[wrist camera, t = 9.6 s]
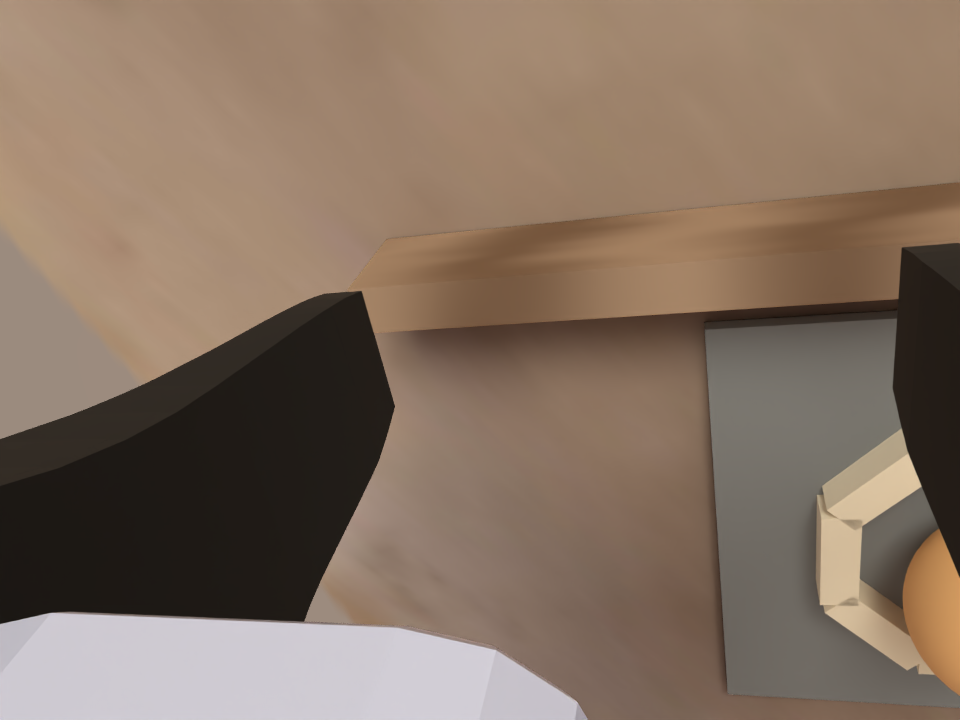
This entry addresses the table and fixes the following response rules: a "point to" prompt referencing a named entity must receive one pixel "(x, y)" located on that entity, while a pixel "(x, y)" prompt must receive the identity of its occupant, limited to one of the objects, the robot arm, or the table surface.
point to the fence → (659, 261)
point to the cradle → (815, 510)
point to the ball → (934, 609)
